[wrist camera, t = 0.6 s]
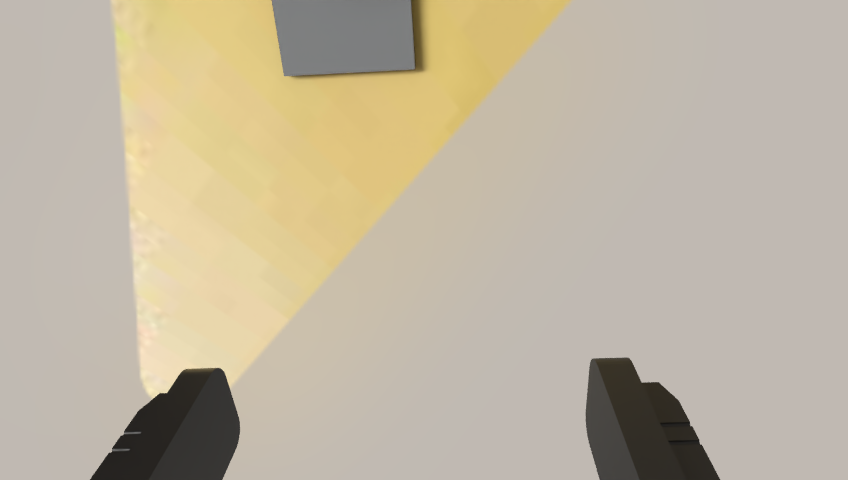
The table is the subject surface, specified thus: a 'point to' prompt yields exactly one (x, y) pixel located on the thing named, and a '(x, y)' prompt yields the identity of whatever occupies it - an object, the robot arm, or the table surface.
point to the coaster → (344, 36)
